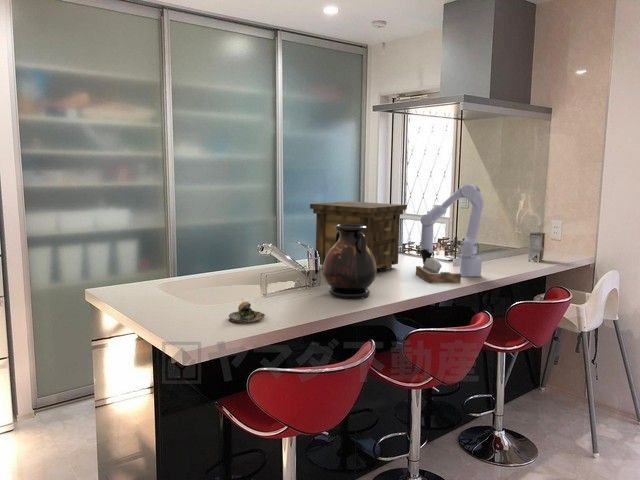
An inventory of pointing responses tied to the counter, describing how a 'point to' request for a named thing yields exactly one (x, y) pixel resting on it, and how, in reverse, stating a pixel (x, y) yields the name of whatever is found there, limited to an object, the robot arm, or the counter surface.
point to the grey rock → (432, 265)
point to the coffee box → (536, 246)
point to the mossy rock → (245, 314)
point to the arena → (438, 276)
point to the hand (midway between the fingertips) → (425, 264)
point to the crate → (372, 215)
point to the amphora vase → (349, 263)
